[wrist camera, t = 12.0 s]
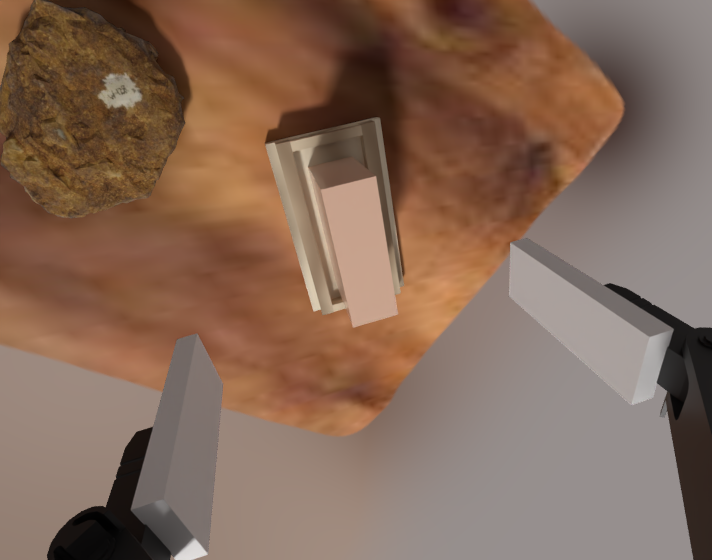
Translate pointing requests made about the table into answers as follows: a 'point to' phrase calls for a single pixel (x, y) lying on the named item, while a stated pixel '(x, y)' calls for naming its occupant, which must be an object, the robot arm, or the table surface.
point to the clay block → (355, 238)
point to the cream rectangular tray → (302, 207)
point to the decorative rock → (85, 112)
